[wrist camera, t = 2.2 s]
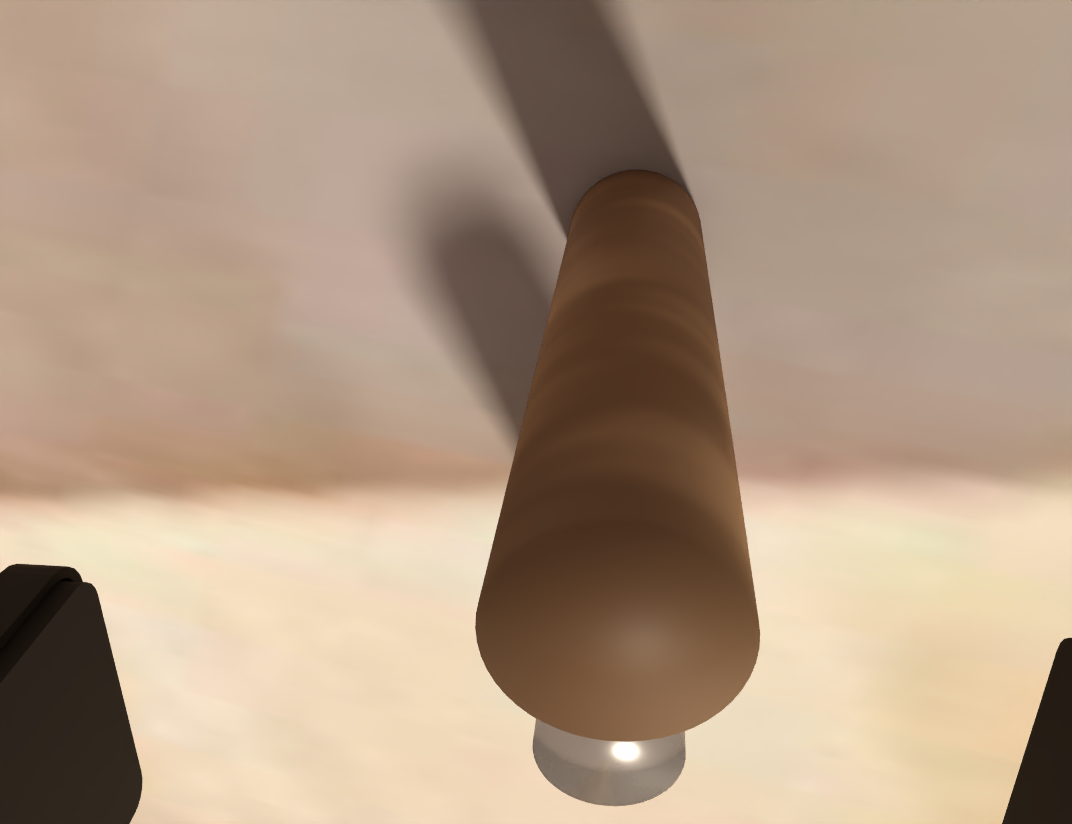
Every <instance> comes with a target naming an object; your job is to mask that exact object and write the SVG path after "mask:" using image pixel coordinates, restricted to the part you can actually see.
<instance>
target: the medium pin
mask: <svg viewBox="0 0 1072 824" xmlns="http://www.w3.org/2000/svg"><path fill="white" fill-rule="evenodd" d="M533 754H534V758H535V761H536V763H537V765H538V768H539V769H540V771H541V772H542V774H543V775H544V776H545V777H546V779H547V780H548V781H549V782H550V783H552V784H553V785H554V786H555V787H556V788H558V789H559V790H561V791H562V792H564V793H566V794H567V795H569V796H571V797H574V798H576V799H578V800H582V801H585V802H588V803H592V804H597V805H605V806H625V805H632V804H637V803H641V802H644V801H647V800H650V799H652V798H654V797H656V796H658V795H660V794H661V793H663V792H664V791H666V790H667V789H668V788H669V787H671V786H672V785H673V784H674V782H675V781H676V780H677V779H678V777H679V775H680V774H681V772H682V769H683V767H684V763H685V731H683V732H681V733H678V734H674V735H671V736H667V737H663V738H658V739H652V740H646V741H632V742H619V741H605V740H597V739H591V738H586V737H582V736H578V735H574V734H571V733H568V732H565V731H562V730H559V729H557V728H555V727H552V726H550V725H548V724H546V723H544V722H542V721H540V720H539V719H537V718H536V724H535V731H534V738H533Z"/></svg>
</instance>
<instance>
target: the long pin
mask: <svg viewBox="0 0 1072 824" xmlns="http://www.w3.org/2000/svg"><path fill="white" fill-rule="evenodd" d="M475 628H476V637H477V643H478V647H479V651H480V654H481V657H482V659H483V661H484V664H485V666H486V668H487V670H488V672H489V673H490V675H491V676H492V678H493V680H494V681H495V683H496V684H497V685H498V686H499V687H500V689H501V690H502V691H503V692H504V693H505V694H506V695H507V696H508V697H509V698H510V699H511V700H512V701H513V702H514V703H515V704H516V705H518V706H519V707H520V708H522V709H523V710H524V711H526V712H527V713H528V714H530V715H532V716H533V717H535V718H537V719H539V720H540V721H542V722H544V723H546V724H548V725H550V726H552V727H555V728H557V729H559V730H562V731H565V732H568V733H571V734H574V735H578V736H582V737H586V738H591V739H597V740H605V741H619V742H632V741H646V740H652V739H658V738H663V737H667V736H671V735H674V734H678V733H681V732H683V731H686V730H688V729H691V728H694V727H696V726H697V725H699V724H701V723H703V722H705V721H707V720H709V719H710V718H712V717H713V716H714V715H716V714H717V713H719V712H720V711H722V710H723V709H724V708H725V707H726V706H727V705H728V704H729V703H730V702H732V701H733V700H734V698H735V697H736V696H737V695H738V694H739V692H740V691H741V690H742V689H743V687H744V686H745V684H746V682H747V681H748V679H749V677H750V676H751V673H752V671H753V668H754V666H755V664H756V660H757V656H758V651H759V643H760V629H759V620H758V613H757V606H756V599H755V592H754V585H753V579H752V572H751V565H750V558H749V551H748V544H747V537H746V531H745V524H744V517H743V510H742V503H741V496H740V489H739V483H738V476H737V469H736V462H735V455H734V448H733V441H732V435H731V428H730V421H729V414H728V407H727V400H726V393H725V387H724V380H723V373H722V366H721V359H720V352H719V345H718V339H717V332H716V325H715V318H714V311H713V304H712V297H711V291H710V284H709V277H708V270H707V263H706V256H705V249H704V243H703V236H702V229H701V222H700V218H699V214H698V211H697V209H696V206H695V204H694V202H693V201H692V199H691V197H690V196H689V195H688V194H687V192H686V191H685V190H684V189H683V188H682V187H681V186H680V185H678V184H677V183H676V182H674V181H673V180H671V179H669V178H667V177H666V176H663V175H661V174H658V173H655V172H651V171H644V170H629V171H623V172H619V173H616V174H612V175H610V176H608V177H606V178H604V179H602V180H601V181H599V182H598V183H596V184H595V185H594V186H593V187H591V188H590V189H589V190H588V191H587V193H586V194H585V195H584V196H583V198H582V199H581V200H580V202H579V204H578V206H577V208H576V210H575V213H574V215H573V219H572V223H571V227H570V231H569V235H568V239H567V243H566V247H565V251H564V255H563V260H562V264H561V268H560V272H559V276H558V280H557V284H556V288H555V292H554V296H553V300H552V304H551V309H550V313H549V317H548V321H547V325H546V329H545V333H544V337H543V341H542V345H541V349H540V353H539V358H538V362H537V366H536V370H535V374H534V378H533V382H532V386H531V390H530V394H529V398H528V402H527V407H526V411H525V415H524V419H523V423H522V427H521V431H520V435H519V439H518V443H517V447H516V451H515V456H514V460H513V464H512V468H511V472H510V476H509V480H508V484H507V488H506V492H505V496H504V500H503V505H502V509H501V513H500V517H499V521H498V525H497V529H496V533H495V537H494V541H493V545H492V549H491V554H490V558H489V562H488V566H487V570H486V574H485V578H484V582H483V586H482V590H481V594H480V598H479V603H478V607H477V612H476V627H475Z"/></svg>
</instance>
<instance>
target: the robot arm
mask: <svg viewBox="0 0 1072 824" xmlns="http://www.w3.org/2000/svg"><path fill="white" fill-rule="evenodd" d="M141 791H142V773H141V768H140V764H139V760H138V756H137V752H136V748H135V744H134V740H133V736H132V732H131V728H130V724H129V720H128V715H127V711H126V707H125V703H124V699H123V695H122V691H121V687H120V683H119V679H118V675H117V671H116V667H115V662H114V658H113V654H112V650H111V646H110V642H109V638H108V634H107V630H106V626H105V622H104V618H103V614H102V609H101V605H100V601H99V597H98V594H97V591H96V589H95V587H94V586H93V585H92V584H90V583H87V582H83V581H82V578H81V576H80V574H79V573H78V572H77V571H76V570H75V569H74V568H71V567H65V566H47V565H29V564H15V565H11V566H8V567H7V568H6V569H5V570H3V571H2V572H1V573H0V824H129V823H130V821H131V820H132V818H133V816H134V814H135V812H136V809H137V807H138V804H139V801H140V797H141ZM1002 824H1072V638H1066V639H1064V640H1063V641H1062V642H1061V643H1060V645H1059V647H1058V649H1057V652H1056V655H1055V658H1054V662H1053V665H1052V668H1051V671H1050V674H1049V677H1048V681H1047V684H1046V687H1045V690H1044V693H1043V696H1042V700H1041V703H1040V706H1039V709H1038V712H1037V715H1036V718H1035V722H1034V725H1033V728H1032V731H1031V734H1030V737H1029V741H1028V744H1027V747H1026V750H1025V753H1024V756H1023V760H1022V763H1021V766H1020V769H1019V772H1018V775H1017V778H1016V782H1015V785H1014V788H1013V791H1012V794H1011V797H1010V801H1009V804H1008V807H1007V810H1006V813H1005V816H1004V820H1003V823H1002Z"/></svg>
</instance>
